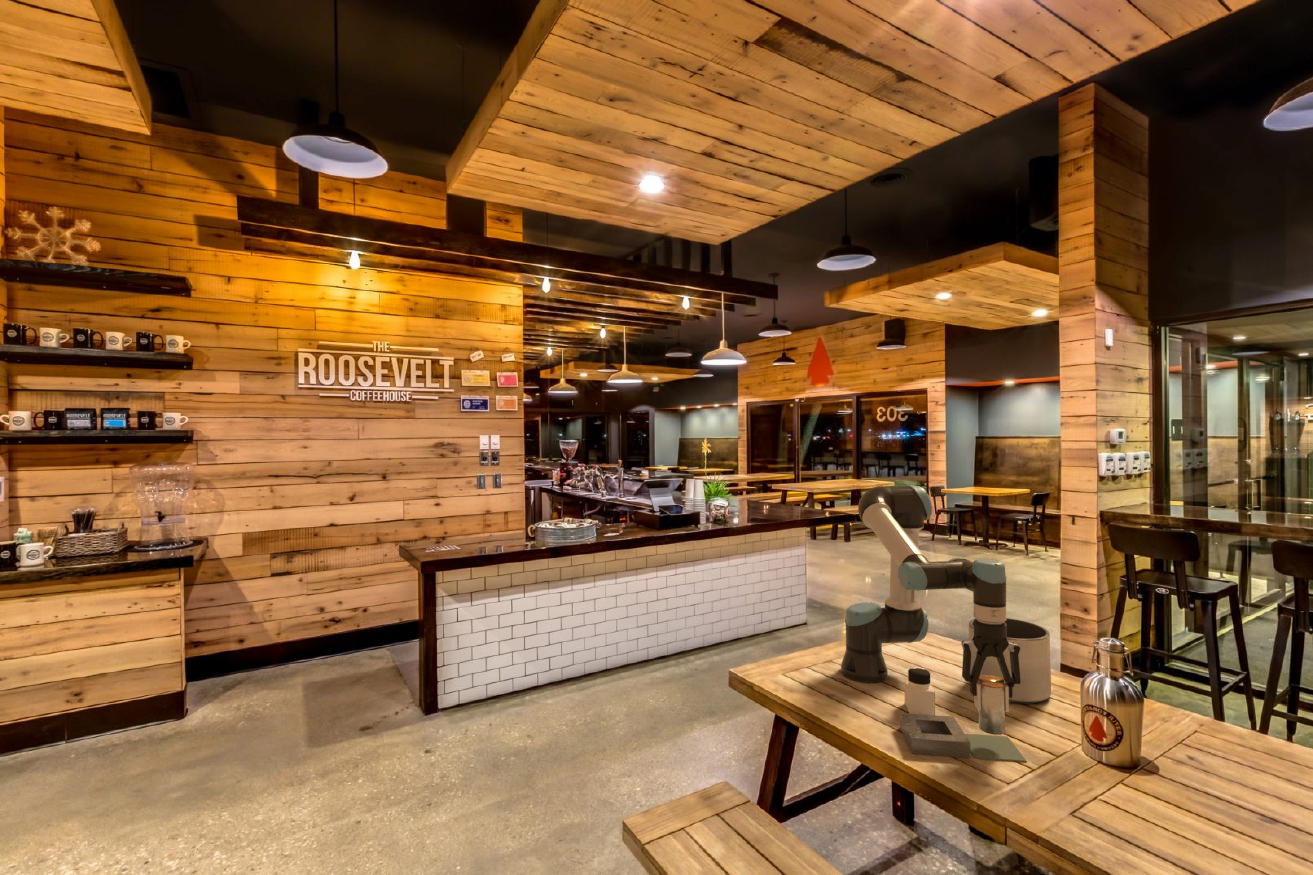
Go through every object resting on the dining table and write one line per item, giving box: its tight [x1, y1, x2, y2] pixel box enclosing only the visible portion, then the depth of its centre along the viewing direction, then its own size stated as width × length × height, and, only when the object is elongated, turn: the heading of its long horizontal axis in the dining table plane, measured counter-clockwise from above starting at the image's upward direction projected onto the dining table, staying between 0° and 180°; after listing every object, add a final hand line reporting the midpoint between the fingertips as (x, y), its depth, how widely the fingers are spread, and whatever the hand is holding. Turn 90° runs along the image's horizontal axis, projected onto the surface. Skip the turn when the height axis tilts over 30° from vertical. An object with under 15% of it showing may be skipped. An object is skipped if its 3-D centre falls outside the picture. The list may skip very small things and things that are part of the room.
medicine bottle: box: [903, 666, 936, 715], centre depth 179 cm, size 7×7×12 cm
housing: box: [899, 712, 972, 759], centre depth 160 cm, size 14×14×4 cm
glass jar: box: [978, 675, 1006, 736], centre depth 156 cm, size 6×6×13 cm
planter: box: [968, 617, 1052, 705], centre depth 191 cm, size 23×23×20 cm
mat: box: [964, 733, 1028, 763], centre depth 157 cm, size 12×12×1 cm
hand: (991, 708), depth 157 cm, fingers closed on glass jar, 6 cm apart
